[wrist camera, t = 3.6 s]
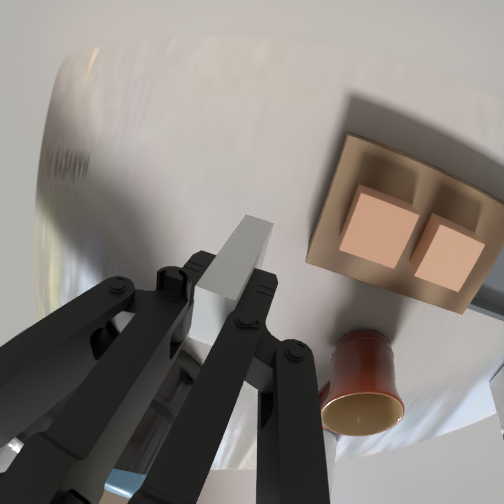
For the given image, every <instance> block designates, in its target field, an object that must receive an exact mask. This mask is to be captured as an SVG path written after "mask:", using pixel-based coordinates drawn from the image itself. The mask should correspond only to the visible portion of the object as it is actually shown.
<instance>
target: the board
mask: <svg viewBox="0 0 504 504" xmlns="http://www.w3.org/2000/svg"><path fill="white" fill-rule="evenodd" d="M358 184H361V185H363V186H366V187H369V188H372V189H374V190H377V191H380V192H382V193H385V194H387V195H390V196H393V197H395V198H398V199H400V200H403V201H405V202H408V203H410V204H413V206H414V207H415V209H416V211H417V212H418V214H419V215H420V216H419V218H418V220H417V222H416V225H415V227H414V229H413V231H412V233H411V236H410V238H409V240H408V242H407V244H406V246H405V248H404V250H403V252H402V254H401V256H400V258H399V260H398V262H397V264H396V266H395V268H394V269H393V268H390V267H387V266H385V265H382V264H379V263H376V262H373V261H370V260H367V259H364V258H361V257H359V256H356V255H353V254H350V253H347V252H344V251H341V250H339V235H340V232H341V230H342V227H343V225H344V222H345V220H346V217H347V214H348V212H349V209H350V206H351V204H352V201H353V198H354V195H355V193H356V190H357V187H358ZM432 213H434V214H436V215H438V216H441V217H443V218H445V219H447V220H450V221H452V222H454V223H456V224H458V225H461V226H463V227H465V228H467V229H469V230H471V231H473V232H475V233H476V234H477V235H478V237H479V238H480V239H481V240H482V241H483V243H484V244H485V246H484V248H483V250H482V252H481V254H480V256H479V257H478V259H477V261H476V263H475V265H474V266H473V268H472V270H471V272H470V273H469V275H468V277H467V279H466V280H465V282H464V284H463V285H462V287H461V289H460V290H459V292H457V291H454V290H451V289H448V288H446V287H443V286H440V285H438V284H435V283H432V282H429V281H427V280H424V279H421V278H418V277H416V276H414V274H413V271H412V268H411V266H410V263H409V260H410V258H411V256H412V254H413V252H414V250H415V248H416V246H417V244H418V242H419V240H420V238H421V236H422V234H423V232H424V230H425V227H426V225H427V223H428V221H429V219H430V216H431V214H432ZM503 246H504V202H502V201H500V200H499V199H497V198H495V197H493V196H492V195H490V194H488V193H486V192H484V191H483V190H481V189H479V188H477V187H475V186H473V185H471V184H469V183H467V182H466V181H464V180H462V179H460V178H458V177H456V176H454V175H452V174H449V173H447V172H445V171H443V170H441V169H439V168H437V167H435V166H433V165H430V164H428V163H426V162H424V161H421V160H419V159H417V158H415V157H412V156H410V155H408V154H405V153H403V152H400V151H398V150H395V149H393V148H391V147H388V146H385V145H383V144H380V143H378V142H375V141H372V140H370V139H367V138H364V137H362V136H359V135H356V134H353V133H350V132H346V136H345V139H344V142H343V145H342V148H341V152H340V155H339V158H338V161H337V164H336V167H335V170H334V173H333V176H332V179H331V182H330V185H329V188H328V191H327V194H326V197H325V200H324V203H323V206H322V209H321V212H320V215H319V218H318V221H317V224H316V226H315V229H314V232H313V235H312V238H311V241H310V243H309V246H308V250H307V255H306V261H305V262H306V263H309V264H312V265H315V266H318V267H321V268H324V269H327V270H330V271H333V272H336V273H339V274H342V275H345V276H348V277H351V278H354V279H357V280H360V281H363V282H366V283H369V284H372V285H375V286H378V287H381V288H384V289H387V290H390V291H393V292H396V293H399V294H402V295H405V296H408V297H411V298H414V299H417V300H420V301H423V302H426V303H429V304H432V305H435V306H438V307H441V308H444V309H447V310H450V311H453V312H456V313H459V314H463V313H464V312H465V310H466V309H467V307H468V306H469V304H470V303H471V301H472V299H473V298H474V296H475V295H476V293H477V292H478V290H479V288H480V287H481V285H482V284H483V282H484V280H485V279H486V277H487V275H488V273H489V272H490V270H491V268H492V267H493V265H494V263H495V261H496V259H497V258H498V256H499V254H500V252H501V250H502V248H503Z"/></svg>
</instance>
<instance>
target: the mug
mask: <svg viewBox="0 0 504 504" xmlns="http://www.w3.org/2000/svg"><path fill="white" fill-rule="evenodd" d="M318 393H319V401H320V409H321V417H322V426H323V430H325V429H329V430H331V431H333V432H335V433H337V434H341V435H347V436H367V435H373V434H377V433H380V432H383V431H386V430H388V429H390V428H391V427H393V426H394V425H396V424H397V423H398V422H399V421H400V420H401V418H402V417H403V415H404V405H403V402H402V400H401V398H400V396H399V394H398V392H397V389H396V385H395V368H394V355H393V352H392V348H391V346H390V343H389V341H388V340H387V338H386V337H385V336H384V335H382V334H380V333H378V332H376V331H372V330H358V331H354V332H351V333H349V334H347V335H345V336H344V337H342V338H341V339H340V340H339V341H338V343H337V344H336V346H335V350H334V352H333V354H332V359H331V377H330V380H329V381H328V382H327V383H326V384H325V385H324V386H323V387H322V388H321V389H320V390H319V391H318ZM324 401H325V402H324ZM323 403H324V404H323ZM322 405H323V406H322ZM321 407H322V408H321Z"/></svg>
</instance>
